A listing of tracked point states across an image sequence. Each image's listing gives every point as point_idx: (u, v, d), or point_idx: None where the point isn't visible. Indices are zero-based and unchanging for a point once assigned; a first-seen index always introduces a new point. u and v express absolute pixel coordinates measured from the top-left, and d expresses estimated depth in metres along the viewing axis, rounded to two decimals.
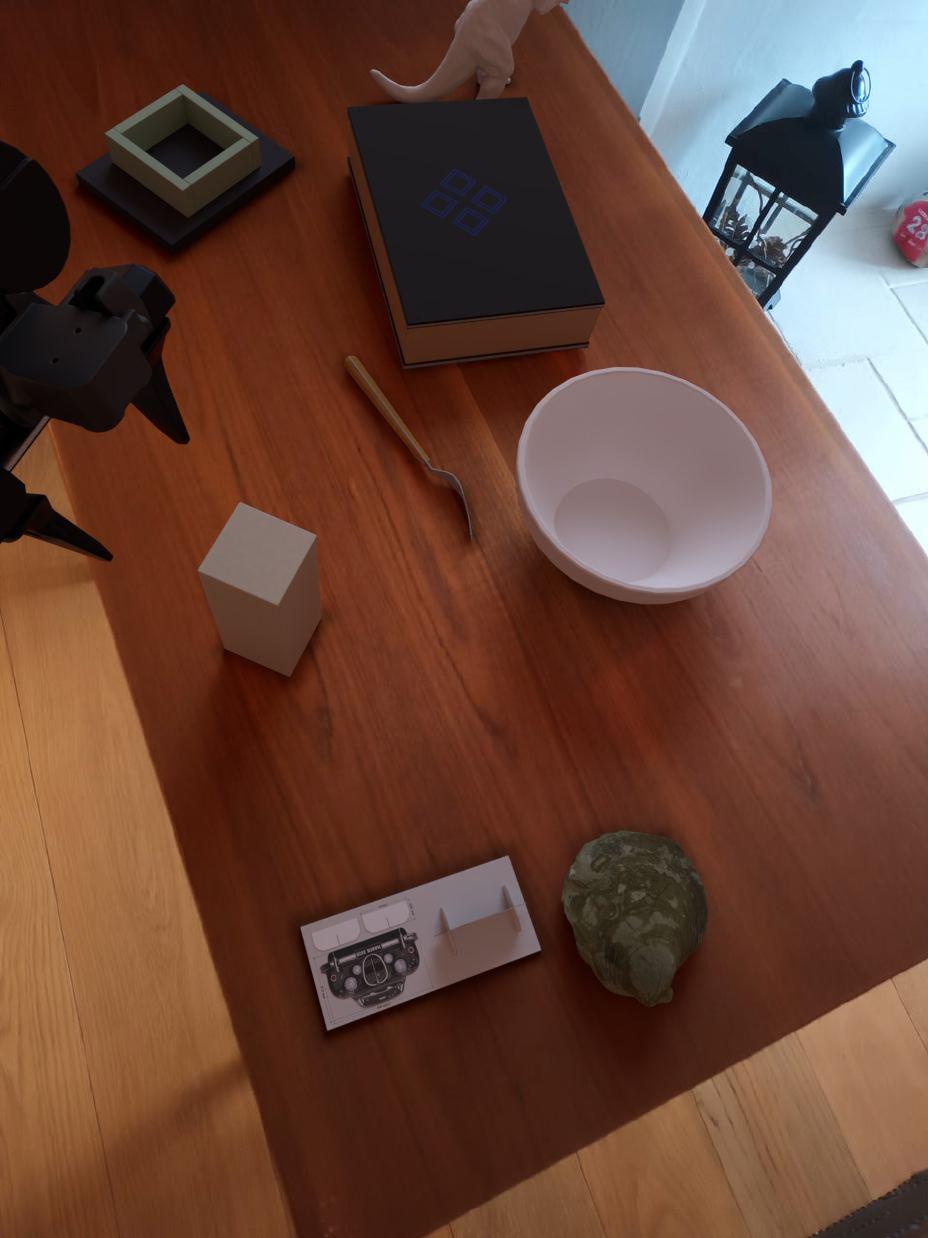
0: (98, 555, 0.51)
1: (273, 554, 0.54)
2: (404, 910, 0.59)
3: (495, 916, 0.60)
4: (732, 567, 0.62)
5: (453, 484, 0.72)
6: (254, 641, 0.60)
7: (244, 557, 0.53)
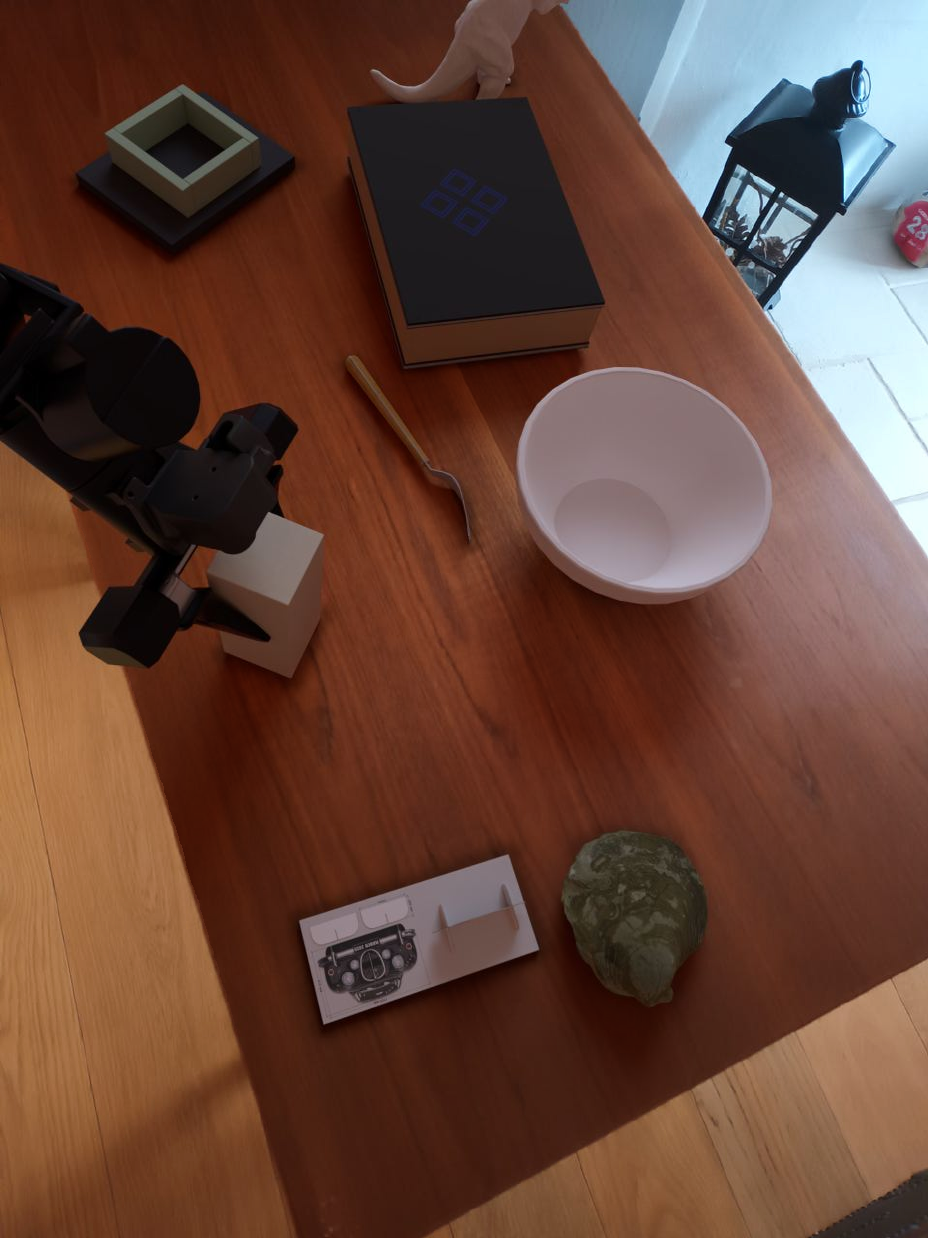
0: (258, 637, 0.57)
1: (281, 554, 0.54)
2: (403, 907, 0.59)
3: (494, 915, 0.60)
4: (732, 567, 0.62)
5: (452, 485, 0.72)
6: (257, 642, 0.60)
7: (252, 557, 0.53)
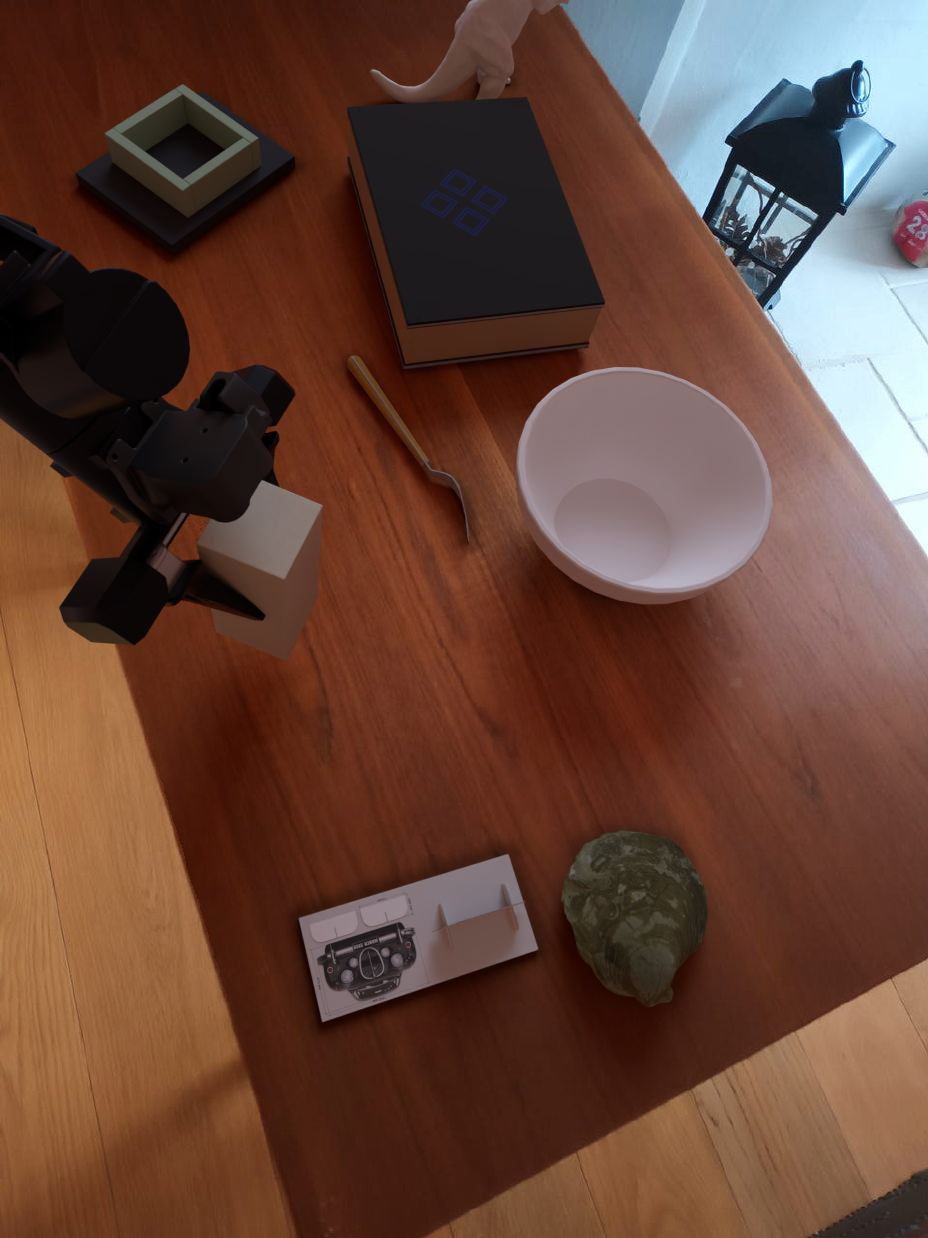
0: (251, 615, 0.54)
1: (277, 525, 0.50)
2: (402, 905, 0.59)
3: (493, 914, 0.60)
4: (732, 567, 0.62)
5: (452, 486, 0.72)
6: (251, 621, 0.57)
7: (245, 528, 0.50)
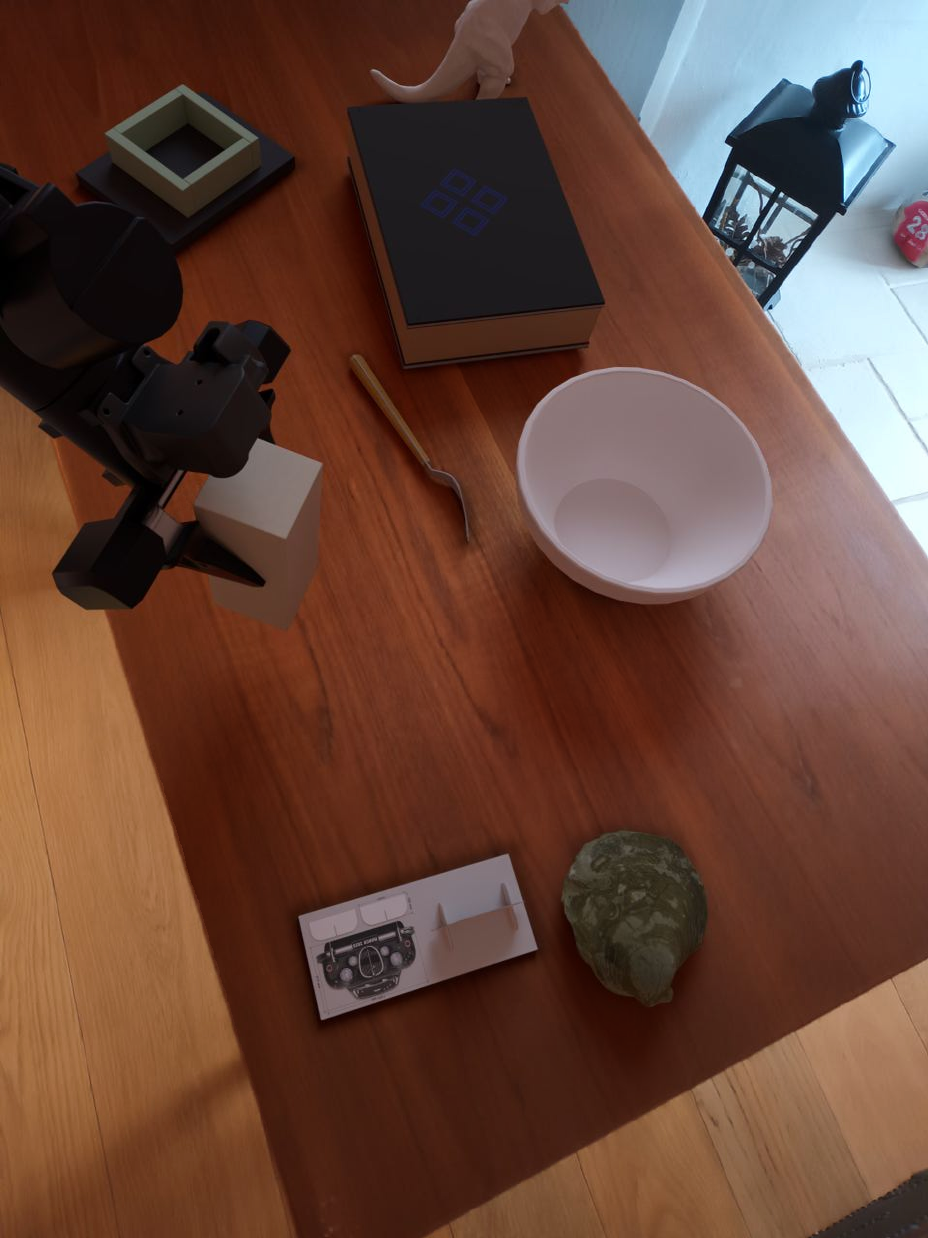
0: (251, 580, 0.52)
1: (276, 484, 0.48)
2: (402, 904, 0.59)
3: (493, 913, 0.60)
4: (732, 567, 0.62)
5: (452, 485, 0.72)
6: (250, 589, 0.55)
7: (244, 488, 0.48)
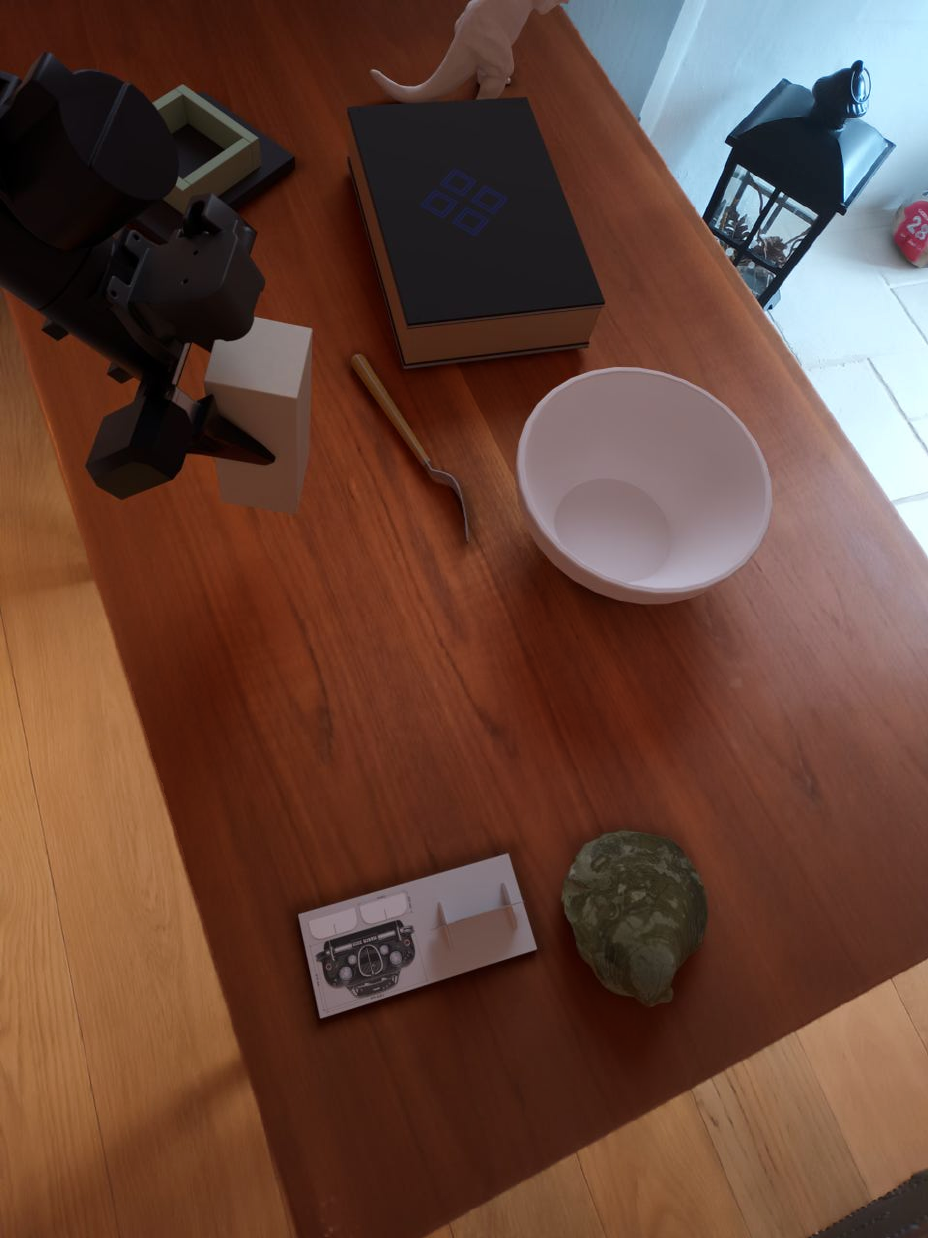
0: (263, 456, 0.55)
1: (275, 352, 0.52)
2: (402, 903, 0.59)
3: (492, 913, 0.60)
4: (732, 567, 0.62)
5: (452, 486, 0.72)
6: (260, 471, 0.58)
7: (246, 360, 0.51)
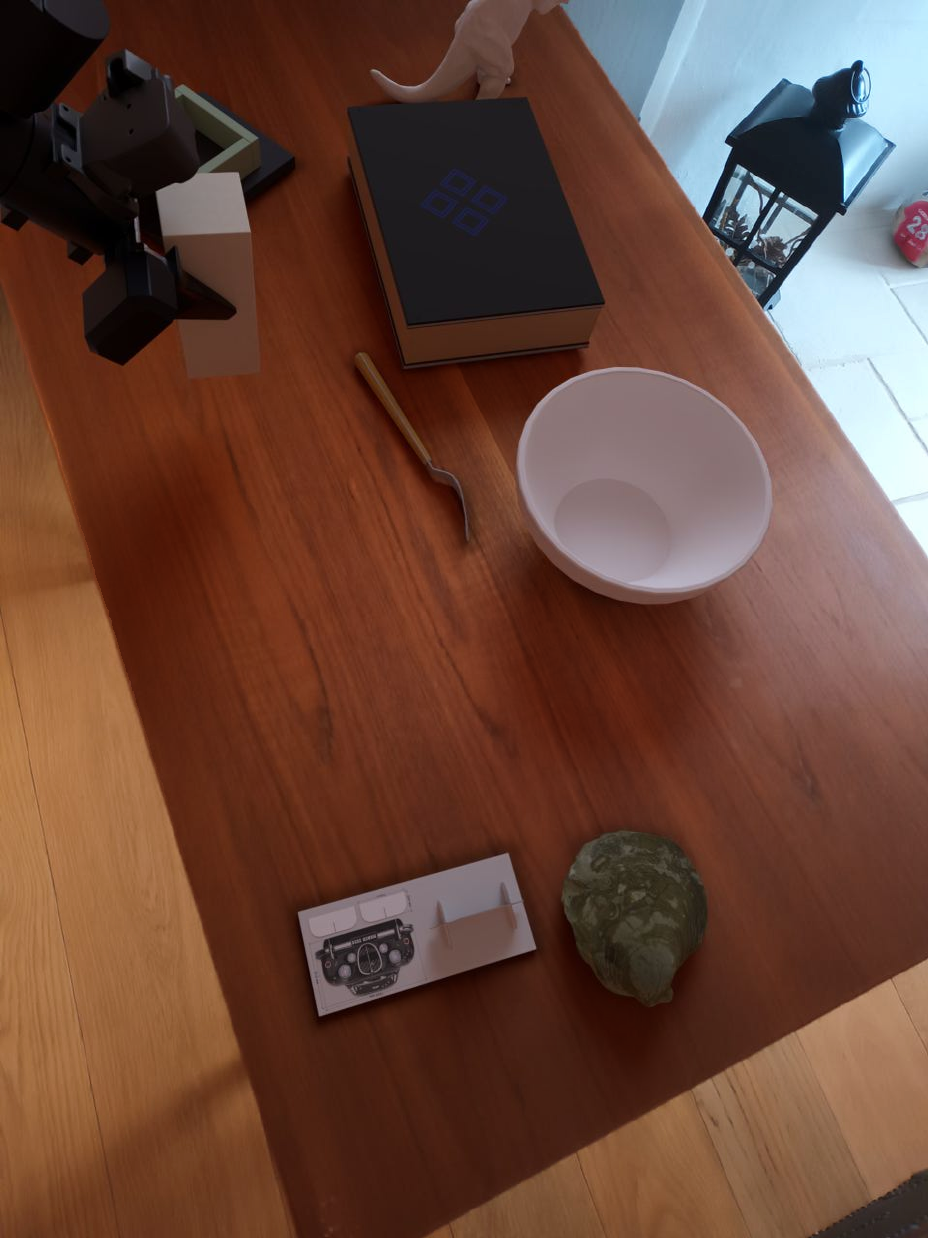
0: (227, 306, 0.59)
1: (215, 199, 0.56)
2: (401, 901, 0.59)
3: (492, 912, 0.60)
4: (732, 567, 0.62)
5: (453, 485, 0.72)
6: (223, 330, 0.62)
7: (193, 210, 0.55)
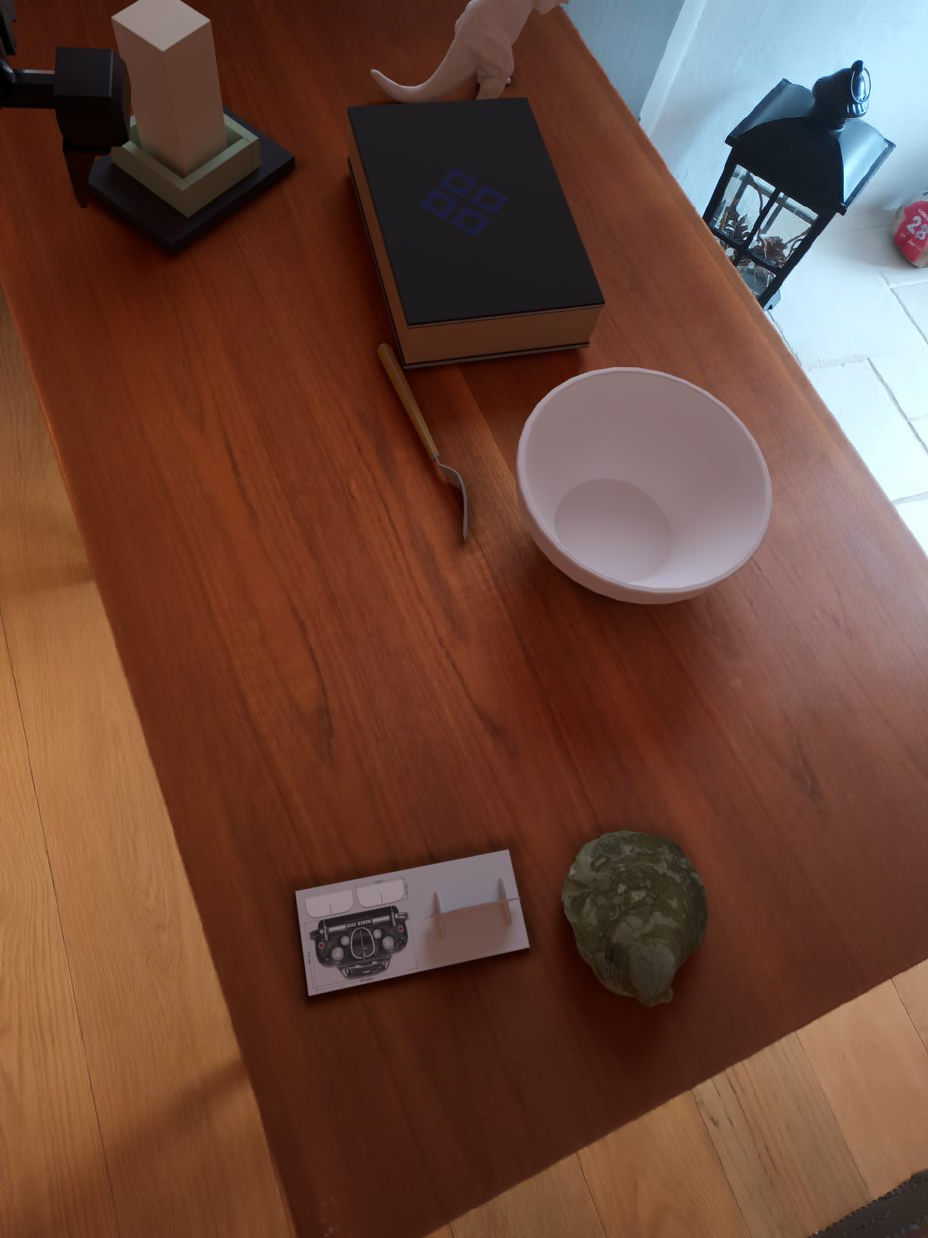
0: None
1: (166, 11, 0.69)
2: (398, 889, 0.60)
3: (488, 907, 0.60)
4: (732, 567, 0.62)
5: (458, 483, 0.72)
6: (205, 130, 0.76)
7: (161, 25, 0.68)
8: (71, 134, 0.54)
